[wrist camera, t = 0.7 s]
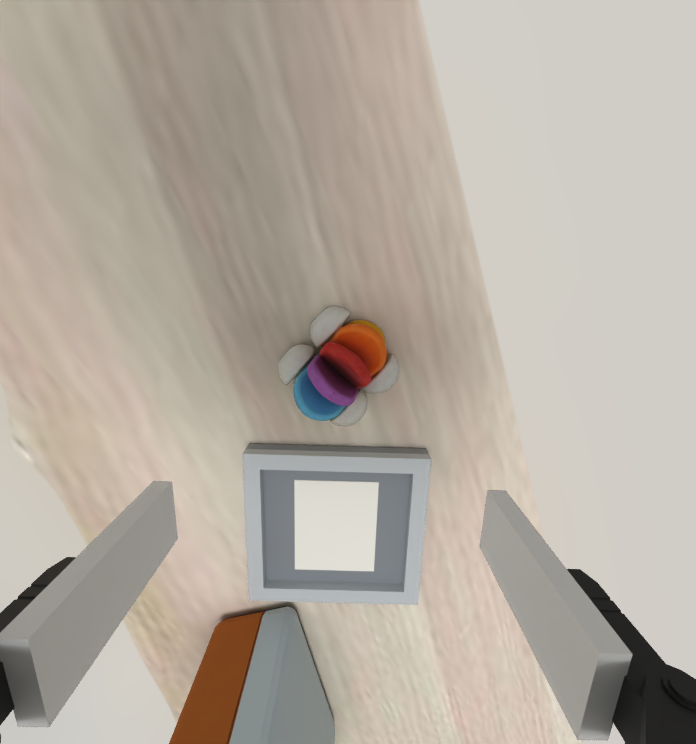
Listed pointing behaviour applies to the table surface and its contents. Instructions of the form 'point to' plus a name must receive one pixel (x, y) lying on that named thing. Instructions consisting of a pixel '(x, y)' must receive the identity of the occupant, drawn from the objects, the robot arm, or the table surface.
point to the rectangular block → (256, 686)
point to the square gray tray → (335, 522)
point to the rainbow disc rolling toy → (339, 368)
